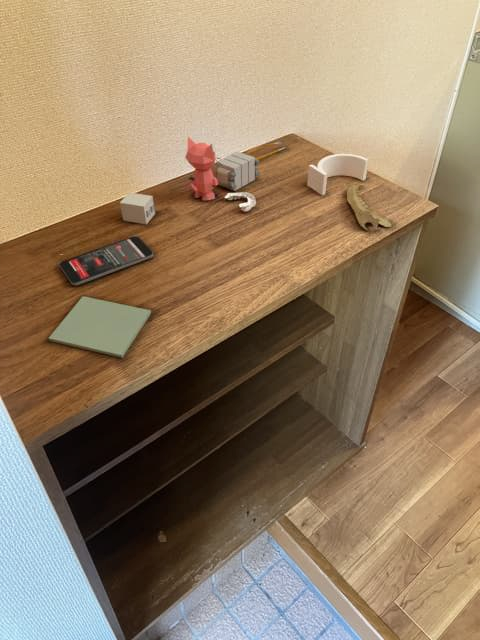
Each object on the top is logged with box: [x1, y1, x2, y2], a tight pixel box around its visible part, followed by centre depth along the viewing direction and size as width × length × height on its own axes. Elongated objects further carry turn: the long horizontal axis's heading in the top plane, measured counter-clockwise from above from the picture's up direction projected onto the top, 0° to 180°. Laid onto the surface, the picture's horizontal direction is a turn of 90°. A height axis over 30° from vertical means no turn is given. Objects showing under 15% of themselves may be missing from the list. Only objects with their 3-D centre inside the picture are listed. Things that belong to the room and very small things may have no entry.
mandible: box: [346, 183, 392, 231], centre depth 103 cm, size 6×17×3 cm, turn 11°
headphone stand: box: [306, 153, 370, 196], centre depth 110 cm, size 5×6×12 cm
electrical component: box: [215, 141, 286, 192], centre depth 114 cm, size 24×6×5 cm, turn 140°
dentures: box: [224, 191, 257, 213], centre depth 105 cm, size 7×5×2 cm
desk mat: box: [48, 295, 152, 359], centre depth 79 cm, size 12×10×1 cm
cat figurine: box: [185, 136, 223, 201], centre depth 103 cm, size 7×7×12 cm
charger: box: [119, 192, 156, 225], centre depth 101 cm, size 5×4×4 cm
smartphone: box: [58, 235, 154, 287], centre depth 91 cm, size 7×1×15 cm
